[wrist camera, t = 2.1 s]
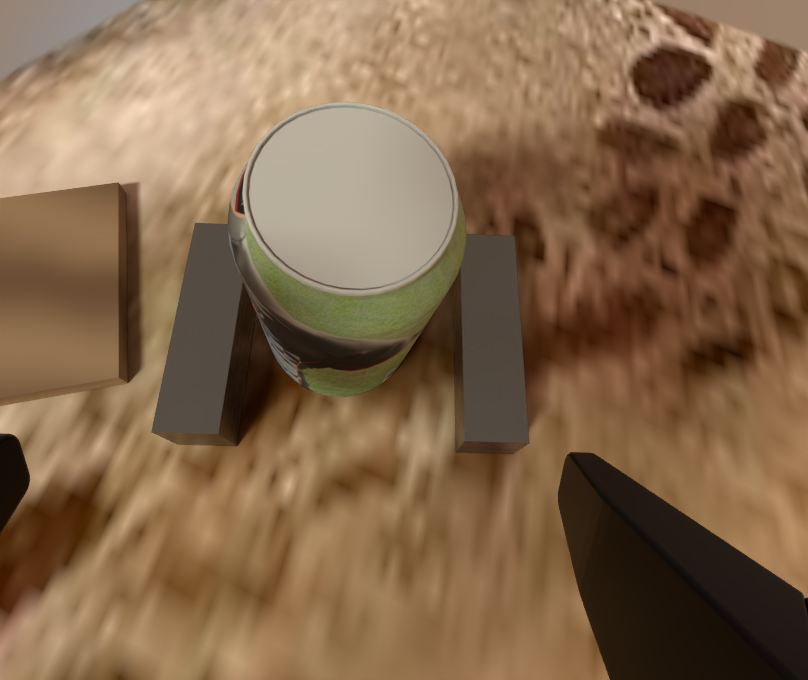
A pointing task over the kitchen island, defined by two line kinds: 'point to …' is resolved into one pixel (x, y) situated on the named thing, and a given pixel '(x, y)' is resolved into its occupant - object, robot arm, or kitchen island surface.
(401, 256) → the beverage can
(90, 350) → the walnut board
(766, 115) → the kitchen island surface
